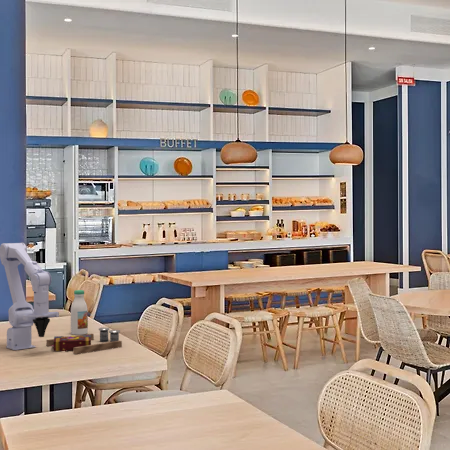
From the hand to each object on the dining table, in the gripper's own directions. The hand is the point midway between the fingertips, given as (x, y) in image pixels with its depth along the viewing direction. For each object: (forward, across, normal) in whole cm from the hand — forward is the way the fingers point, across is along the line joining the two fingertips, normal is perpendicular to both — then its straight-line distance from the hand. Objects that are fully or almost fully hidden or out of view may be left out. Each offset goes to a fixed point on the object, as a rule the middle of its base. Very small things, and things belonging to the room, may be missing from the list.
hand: (41, 336), depth 268 cm
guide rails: (+6, +20, 0) cm, 21 cm away
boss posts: (+6, +32, 0) cm, 33 cm away
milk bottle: (+7, +34, +27) cm, 44 cm away
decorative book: (+7, +14, 0) cm, 15 cm away
